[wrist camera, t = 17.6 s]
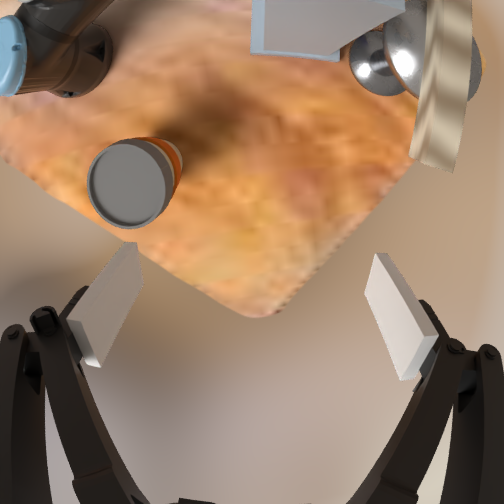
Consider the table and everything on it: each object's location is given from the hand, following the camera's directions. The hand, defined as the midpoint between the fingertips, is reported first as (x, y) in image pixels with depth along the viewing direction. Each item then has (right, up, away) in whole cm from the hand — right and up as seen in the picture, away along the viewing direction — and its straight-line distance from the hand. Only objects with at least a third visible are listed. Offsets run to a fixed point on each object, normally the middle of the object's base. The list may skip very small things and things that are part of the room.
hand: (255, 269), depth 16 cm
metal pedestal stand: (+22, +33, +23) cm, 46 cm away
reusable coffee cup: (-17, +17, +34) cm, 41 cm away
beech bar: (+21, +24, +6) cm, 32 cm away
